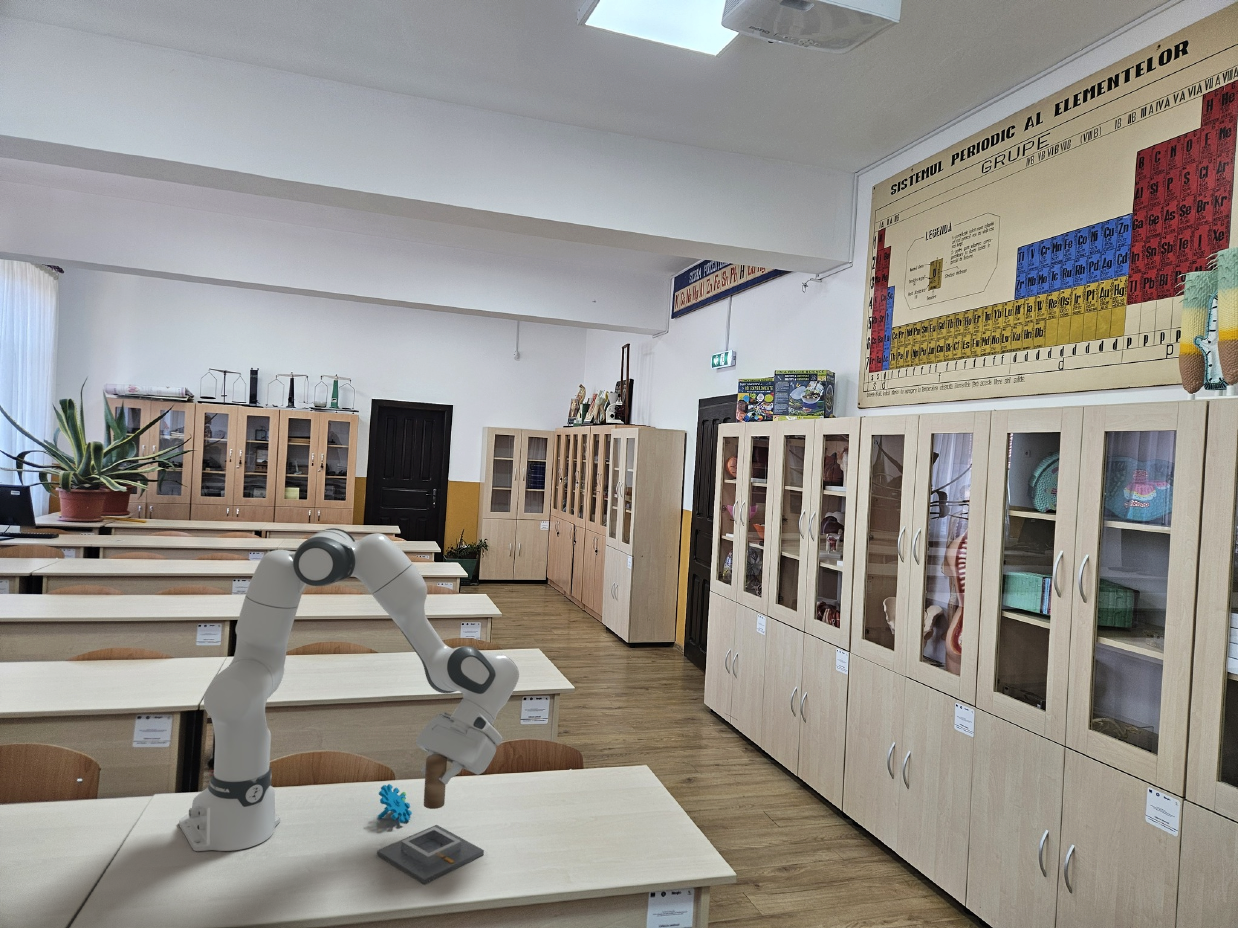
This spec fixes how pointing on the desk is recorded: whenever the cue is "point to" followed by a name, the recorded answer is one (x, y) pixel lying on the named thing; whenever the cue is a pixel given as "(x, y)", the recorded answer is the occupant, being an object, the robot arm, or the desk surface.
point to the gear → (394, 803)
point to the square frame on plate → (430, 853)
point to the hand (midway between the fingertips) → (433, 777)
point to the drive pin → (434, 781)
